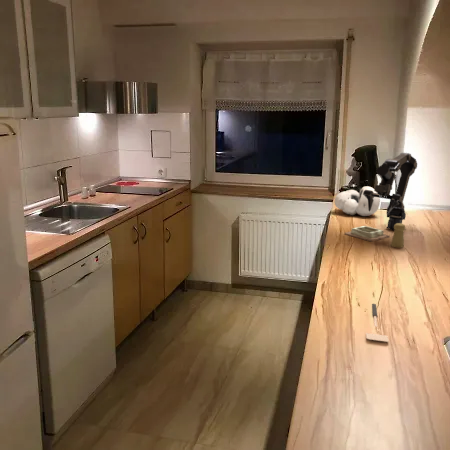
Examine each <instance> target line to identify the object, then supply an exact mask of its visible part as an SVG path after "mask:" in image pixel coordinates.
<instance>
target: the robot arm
mask: <svg viewBox="0 0 450 450" xmlns="http://www.w3.org/2000/svg"><path fill="white" fill-rule="evenodd" d="M417 168H418V162H417V159H416V158H415V157H414V156H412V154H411V153H409V152H400V153H399V155H397V156H395V157H394V158H387V159H386V160H385V161H384V162H382V164H381V165H379V166H378V167H377V168H376V174H377V175H378V177H379V178H380V179H381V181H380V182H379V184H375V185H374V188H373V189H374V191H376V192H377V193H378V194H377V193H374V192H373V191H371V190H365V191H364V192H363V195H364V196H365V197H366V198H367V199H368V209H369V211H370V210H371V207H372V204H373V201H374V200H373V198H374V197H378V198H380V199H386V200H389V203H388V206H387V208H386V218H388V220H387V226H386V229H388V230H391V231H395V230H394V225H395V224H396V223H401V224H403V221H405V220H406V216H407V215H406V210H405V204H404V198H405V196H406V191H407V188H408V184H409V181H410V177H411V176H412V175H413V174H414V173H415V171H416V169H417ZM399 171H400V178H399V180H398V184H397V187H396V192H395V193H392V194H391V191H392V190H393V183H394V181H395V179H396V174H395V173H397V172H399ZM394 172H395V173H394Z"/></svg>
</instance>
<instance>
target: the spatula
mask: <svg viewBox="0 0 450 450" xmlns="http://www.w3.org/2000/svg"><path fill="white" fill-rule="evenodd" d="M371 310H372V317H373V321H374V322H373V323H374V325H373V327H374V328H375V327H376V328H378V319H377V317H378V309H377V303H372V304H371ZM388 337H389V336H388V335H385V334H384V335H383V334H376V333H375V334H374V333H368V332H365V338H366V340H370V341H372V340H373V341H378V342H386V343H388V342H389V338H388Z"/></svg>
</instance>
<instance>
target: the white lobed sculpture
mask: <svg viewBox="0 0 450 450" xmlns="http://www.w3.org/2000/svg"><path fill="white" fill-rule="evenodd" d="M374 189H375V188H373V186H372V187H371V186H368V185H367V186H363V187H362V188H361V189H359V192H358V191H357V190H355V189H348V190H346V191H341V192H339V193H337V194H336V196H335V197H334V205H335V207H336V208H337V209H339V210H342V212H343V213H345V214H346V215H350V216H354V215H356V214H357V215H359V216H362V217H368V216H371V215H374V214H375V213H377V211H378V210H379V207H380V203H381V198H378V197H374V198H373V200H374V201H373V204H372V207H371V210H370V211H369V209H368V199H367V198H366V197H365V196H364V195H363V192H364V191H365V190H371V191H373V192H374V193H377V192H376V191H374ZM377 194H378V193H377Z"/></svg>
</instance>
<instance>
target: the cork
mask: <svg viewBox="0 0 450 450" xmlns="http://www.w3.org/2000/svg"><path fill="white" fill-rule="evenodd" d="M405 230H406V225H405V224H404V223H402V224H401V223H396V224H395V225H394V230H393V236H392V239H391V242H390V246H391V247H393V248H397V249H398V248H401V249H403V248H404V247H405V242H404V241H405V239H404V238H405V237H404V235H405V234H404V232H405Z"/></svg>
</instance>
